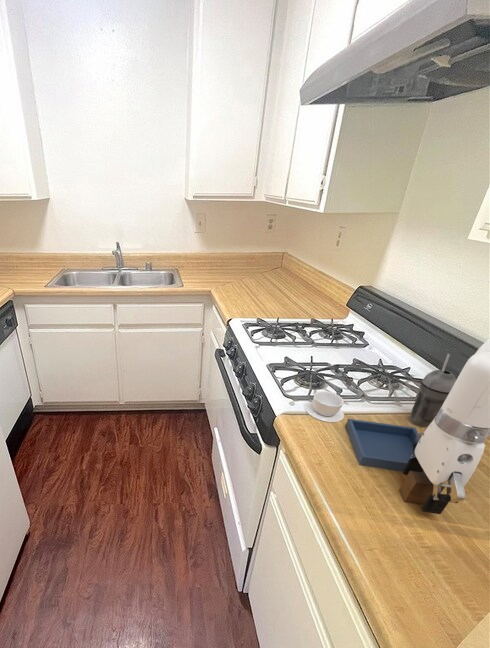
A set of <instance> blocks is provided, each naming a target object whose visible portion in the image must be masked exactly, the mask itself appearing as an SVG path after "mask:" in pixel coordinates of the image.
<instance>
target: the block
mask: <svg viewBox="0 0 490 648" xmlns="http://www.w3.org/2000/svg"><path fill="white" fill-rule="evenodd" d="M445 488H446V487H443V486H441V489H440V494H442V493H443V491H444V489H445ZM398 493H399V495H400V496H401V500H402V501H403V502H404V503H407V504H412V505H417V506H422V505H423V504H424V502H425V501H426V499H427V498H428V496H429V495H433V483H432V482H431V481H430V480H429V478H428V477H427V475H426V473H422V472H416V471H409V473H408V475H406V476H405V478H404V480H403V482H402V484H401V485H400V487H399V489H398Z"/></svg>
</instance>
